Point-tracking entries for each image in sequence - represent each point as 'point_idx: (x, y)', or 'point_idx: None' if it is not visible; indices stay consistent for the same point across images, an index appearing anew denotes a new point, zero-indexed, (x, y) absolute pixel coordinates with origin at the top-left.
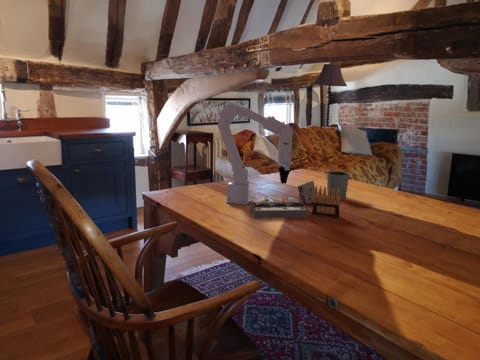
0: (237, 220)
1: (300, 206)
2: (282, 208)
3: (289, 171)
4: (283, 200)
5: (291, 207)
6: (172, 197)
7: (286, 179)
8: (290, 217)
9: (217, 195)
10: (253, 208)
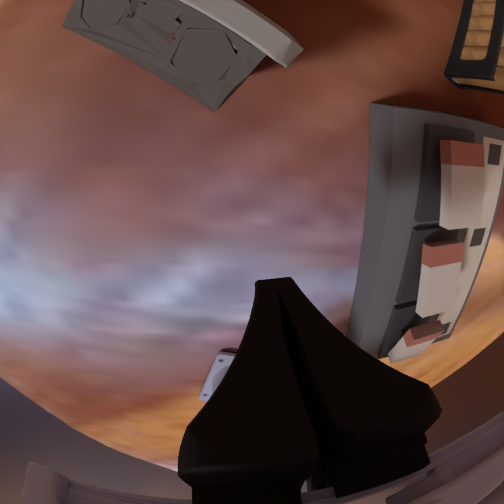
0: (431, 351)
1: None
2: (473, 248)
3: (407, 382)
4: (449, 254)
5: None
6: None
7: (311, 308)
8: None
9: (170, 419)
10: None
